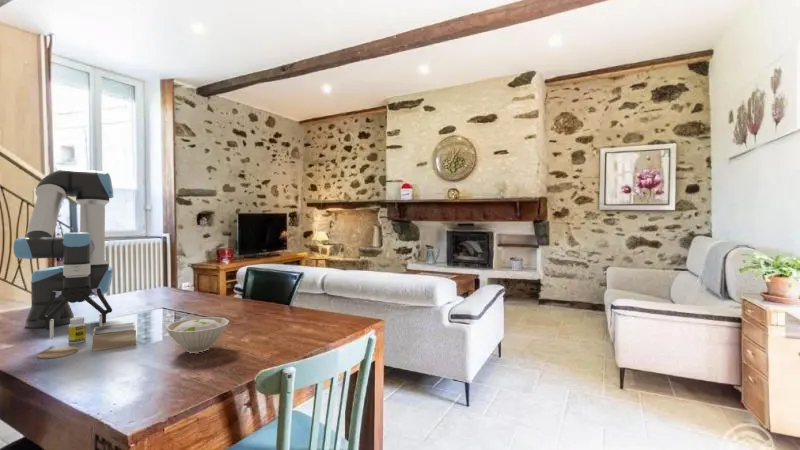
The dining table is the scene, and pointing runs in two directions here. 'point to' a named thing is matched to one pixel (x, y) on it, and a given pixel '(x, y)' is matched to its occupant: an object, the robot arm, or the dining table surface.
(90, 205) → the robot arm
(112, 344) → the beech block
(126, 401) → the dining table surface
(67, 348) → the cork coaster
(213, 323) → the bowl
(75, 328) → the supplement bottle
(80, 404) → the dining table surface
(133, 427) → the dining table surface
